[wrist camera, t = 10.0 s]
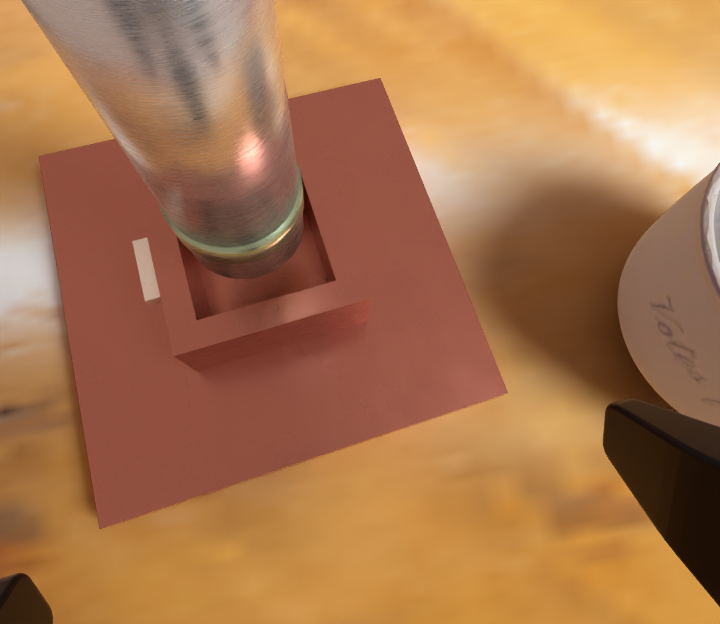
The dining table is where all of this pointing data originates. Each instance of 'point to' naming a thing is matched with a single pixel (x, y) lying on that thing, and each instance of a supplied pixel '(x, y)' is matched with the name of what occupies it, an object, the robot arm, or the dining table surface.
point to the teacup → (678, 303)
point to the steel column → (194, 116)
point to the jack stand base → (260, 316)
